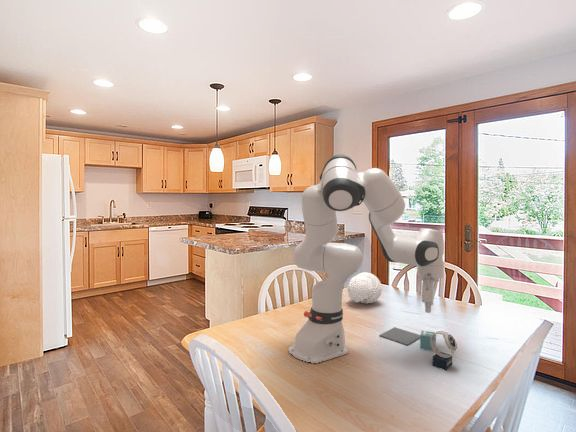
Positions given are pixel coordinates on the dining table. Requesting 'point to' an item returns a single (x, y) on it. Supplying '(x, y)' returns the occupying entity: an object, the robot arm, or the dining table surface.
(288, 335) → the dining table surface
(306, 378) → the dining table surface
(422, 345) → the letter cube
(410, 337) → the pad
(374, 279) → the cauliflower
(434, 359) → the watch
